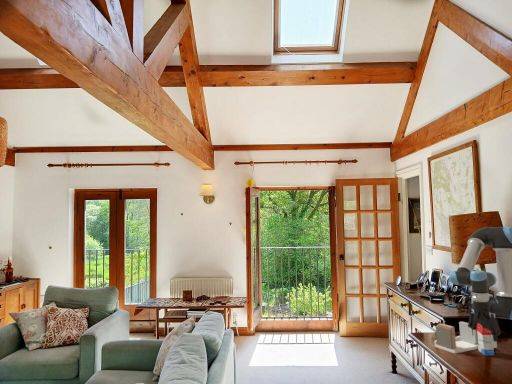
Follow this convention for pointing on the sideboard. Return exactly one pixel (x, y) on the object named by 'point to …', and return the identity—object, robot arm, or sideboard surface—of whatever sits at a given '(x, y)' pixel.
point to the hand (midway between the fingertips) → (485, 344)
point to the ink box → (484, 340)
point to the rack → (451, 340)
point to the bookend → (466, 333)
